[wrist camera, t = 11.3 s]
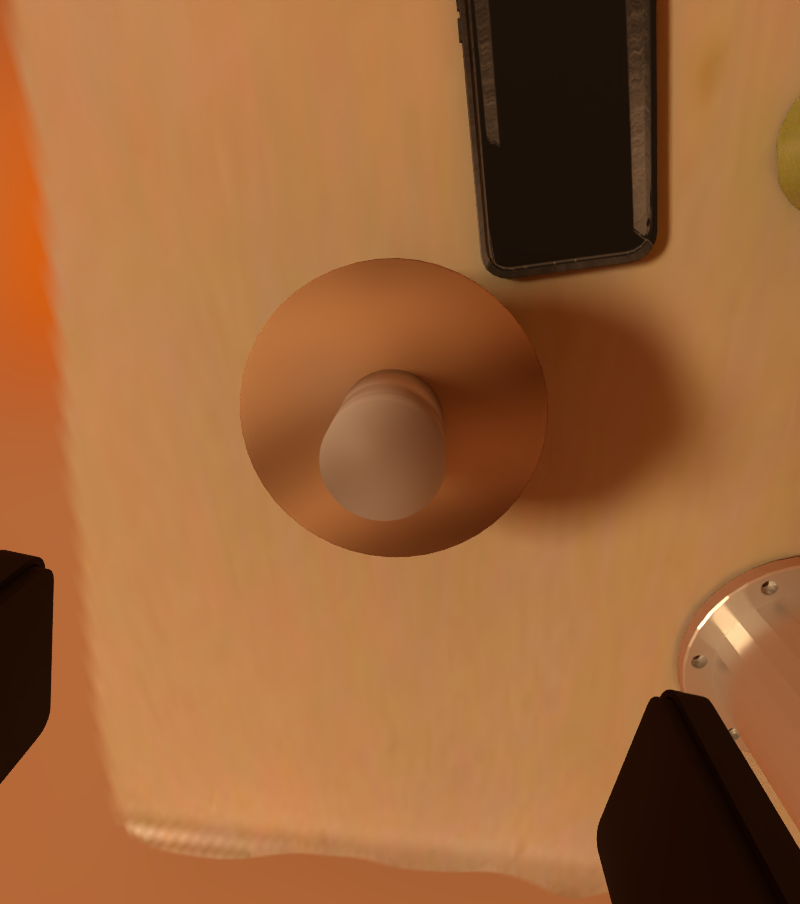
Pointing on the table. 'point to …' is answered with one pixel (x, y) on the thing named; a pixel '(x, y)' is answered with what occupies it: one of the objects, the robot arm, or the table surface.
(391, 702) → the table surface
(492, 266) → the phone
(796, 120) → the plant pot
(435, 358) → the lid
